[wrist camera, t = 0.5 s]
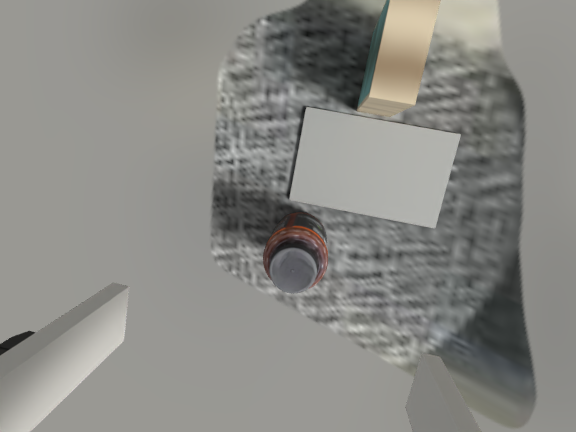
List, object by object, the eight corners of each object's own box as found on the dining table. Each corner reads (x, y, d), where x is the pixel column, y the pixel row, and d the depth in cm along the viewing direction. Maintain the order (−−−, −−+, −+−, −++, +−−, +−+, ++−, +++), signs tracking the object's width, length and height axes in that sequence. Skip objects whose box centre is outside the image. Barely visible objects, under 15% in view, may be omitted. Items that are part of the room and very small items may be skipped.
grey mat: (306, 107, 37) (306, 106, 36) (459, 134, 36) (460, 134, 35) (289, 199, 39) (289, 199, 38) (433, 227, 38) (434, 228, 37)
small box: (373, 29, 35) (393, -19, 25) (409, 34, 35) (443, -11, 25) (356, 111, 36) (368, 96, 27) (390, 117, 36) (415, 104, 26)
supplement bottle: (269, 254, 40) (248, 294, 29) (280, 205, 39) (264, 227, 28) (319, 267, 40) (318, 313, 29) (332, 218, 39) (336, 245, 28)
